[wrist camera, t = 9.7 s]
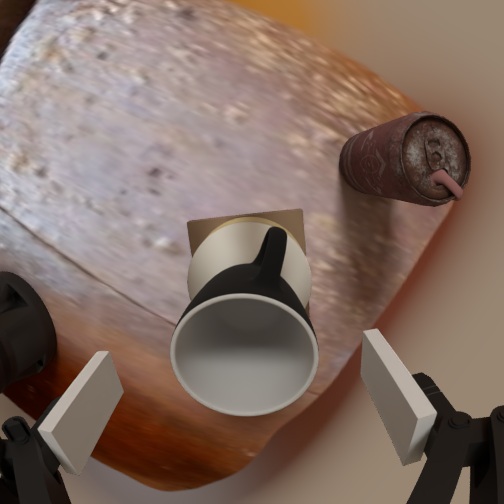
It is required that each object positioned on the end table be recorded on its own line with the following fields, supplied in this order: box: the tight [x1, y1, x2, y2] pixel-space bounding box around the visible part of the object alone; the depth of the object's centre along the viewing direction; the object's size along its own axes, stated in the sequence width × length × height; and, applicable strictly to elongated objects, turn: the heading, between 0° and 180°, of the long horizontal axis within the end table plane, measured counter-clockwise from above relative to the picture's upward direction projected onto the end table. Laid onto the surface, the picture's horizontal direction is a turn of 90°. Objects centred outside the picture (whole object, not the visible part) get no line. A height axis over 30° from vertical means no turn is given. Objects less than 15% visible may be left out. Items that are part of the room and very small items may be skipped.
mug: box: [170, 226, 319, 416], centre depth 22 cm, size 12×9×10 cm
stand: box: [187, 209, 312, 317], centre depth 30 cm, size 11×11×5 cm
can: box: [340, 111, 471, 207], centre depth 23 cm, size 6×6×14 cm
